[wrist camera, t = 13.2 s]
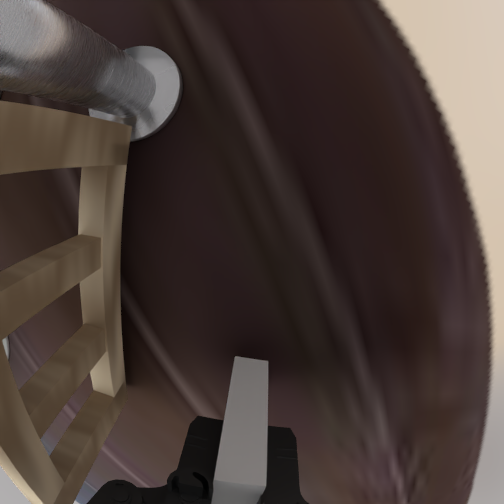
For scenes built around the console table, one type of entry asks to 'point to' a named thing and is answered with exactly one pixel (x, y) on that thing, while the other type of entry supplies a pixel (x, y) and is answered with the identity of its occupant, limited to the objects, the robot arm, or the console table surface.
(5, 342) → the coaster
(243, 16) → the console table surface
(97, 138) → the gate
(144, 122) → the hinge post
